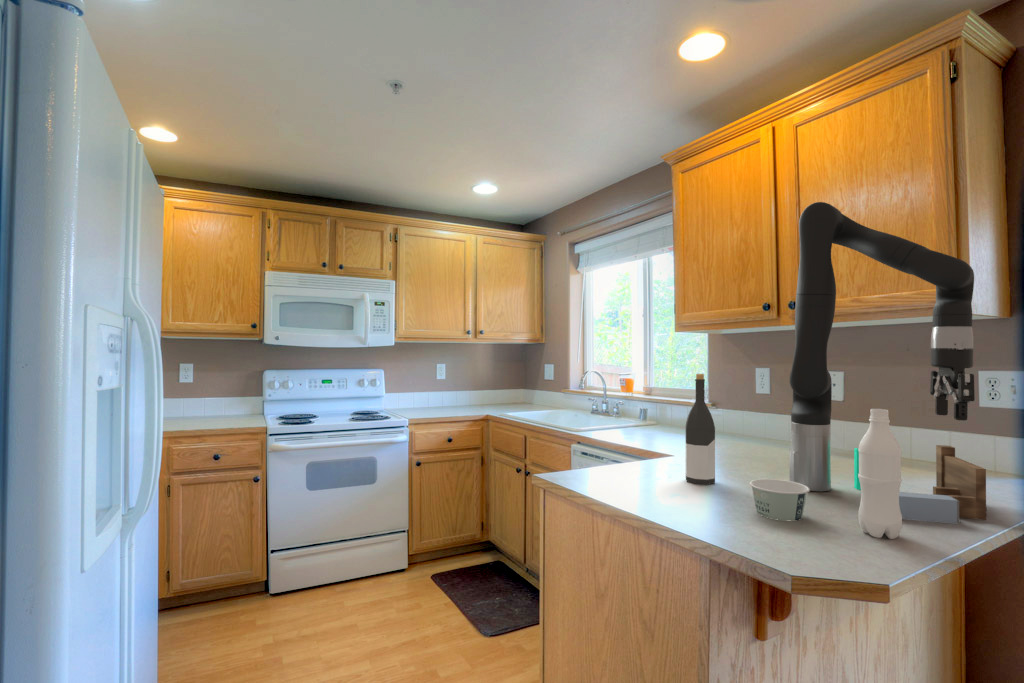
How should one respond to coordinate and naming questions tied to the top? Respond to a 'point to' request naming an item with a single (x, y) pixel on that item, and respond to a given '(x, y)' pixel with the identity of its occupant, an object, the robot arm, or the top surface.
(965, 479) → the wooden holder stand
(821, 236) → the robot arm
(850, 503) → the top surface
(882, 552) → the top surface
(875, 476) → the water bottle
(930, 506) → the light blue rectangular bar
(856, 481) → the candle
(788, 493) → the food container
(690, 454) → the wine bottle
